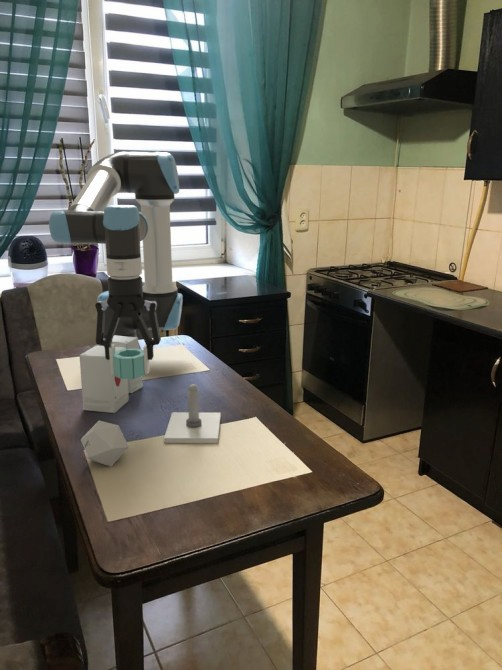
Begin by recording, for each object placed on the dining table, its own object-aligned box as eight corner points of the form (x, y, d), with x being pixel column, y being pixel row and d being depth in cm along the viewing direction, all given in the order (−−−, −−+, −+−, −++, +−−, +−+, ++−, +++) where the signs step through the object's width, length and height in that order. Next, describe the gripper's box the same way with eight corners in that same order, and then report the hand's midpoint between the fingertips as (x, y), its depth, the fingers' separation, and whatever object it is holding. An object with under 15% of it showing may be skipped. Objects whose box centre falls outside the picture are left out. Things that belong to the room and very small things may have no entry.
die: (91, 452, 118) (67, 430, 110) (126, 428, 119) (105, 405, 112) (104, 481, 112) (80, 459, 105) (141, 456, 114) (119, 432, 106)
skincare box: (143, 387, 153) (140, 337, 149) (130, 394, 148) (127, 342, 144) (118, 383, 157) (115, 333, 153) (105, 390, 151) (102, 339, 147)
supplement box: (115, 414, 136) (111, 357, 132) (82, 410, 137) (77, 354, 133) (130, 400, 144) (127, 346, 140) (99, 397, 146) (95, 344, 142)
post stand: (172, 416, 134) (171, 374, 131) (220, 417, 134) (220, 374, 131) (164, 442, 121) (162, 395, 118) (217, 443, 121) (217, 396, 118)
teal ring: (118, 368, 131) (117, 348, 129) (148, 368, 131) (147, 348, 129) (111, 378, 124) (110, 358, 122) (143, 379, 124) (142, 358, 122)
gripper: (74, 279, 117) (83, 377, 124) (167, 279, 117) (171, 378, 124) (84, 272, 124) (92, 366, 131) (172, 273, 124) (175, 366, 131)
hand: (130, 372), depth 127 cm, fingers closed on teal ring, 7 cm apart
